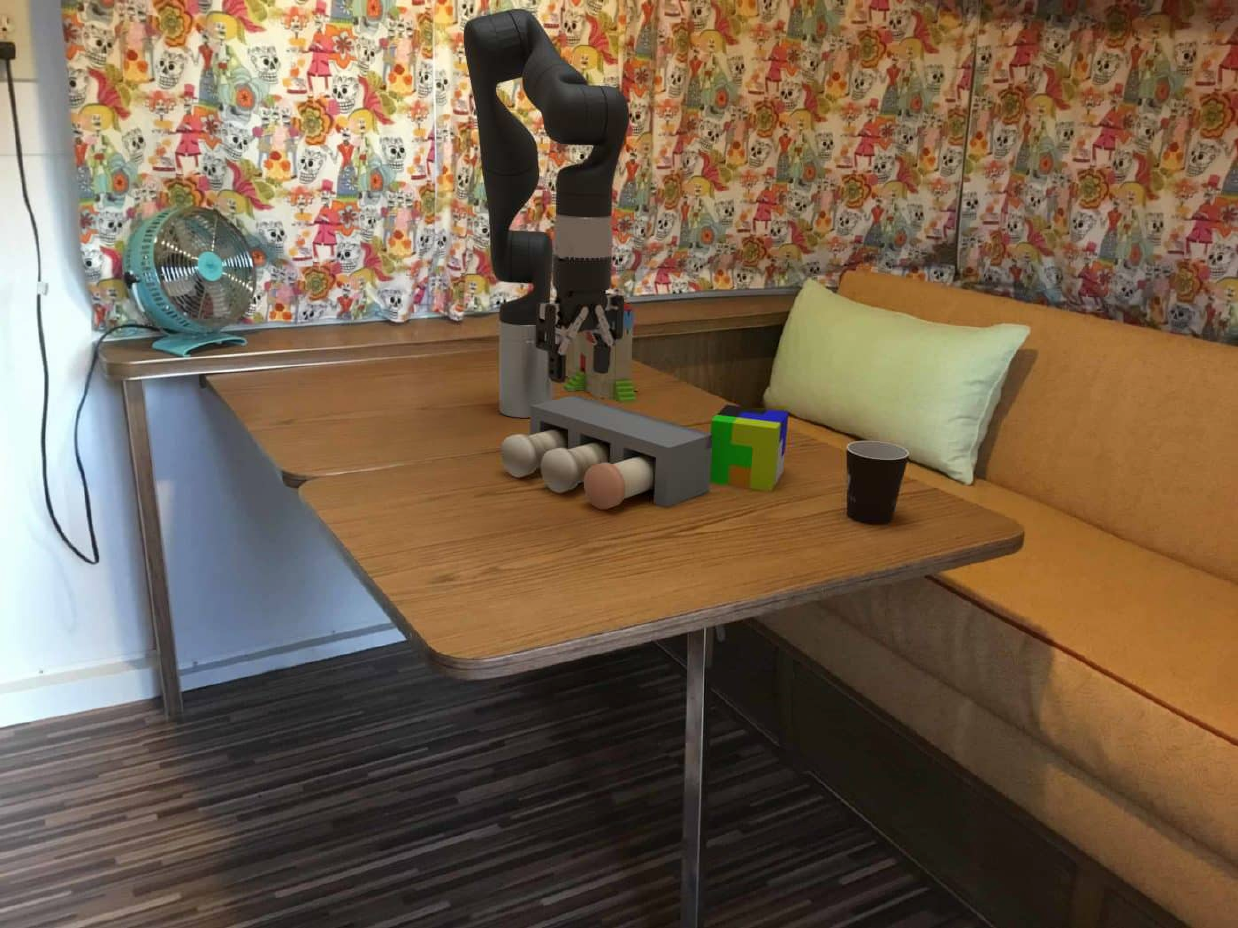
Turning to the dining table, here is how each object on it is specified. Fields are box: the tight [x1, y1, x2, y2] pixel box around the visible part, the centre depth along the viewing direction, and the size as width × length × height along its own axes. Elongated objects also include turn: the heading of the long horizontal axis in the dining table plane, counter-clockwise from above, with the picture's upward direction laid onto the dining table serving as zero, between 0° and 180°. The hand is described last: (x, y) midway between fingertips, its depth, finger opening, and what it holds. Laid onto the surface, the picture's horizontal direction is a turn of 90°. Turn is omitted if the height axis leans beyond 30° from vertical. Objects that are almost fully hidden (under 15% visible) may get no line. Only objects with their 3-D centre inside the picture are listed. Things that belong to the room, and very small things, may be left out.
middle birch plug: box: [540, 441, 610, 494], centre depth 153 cm, size 10×6×6 cm, turn 137°
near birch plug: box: [500, 428, 568, 478], centre depth 159 cm, size 10×6×6 cm, turn 137°
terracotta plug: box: [583, 455, 656, 510], centre depth 147 cm, size 10×6×6 cm, turn 137°
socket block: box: [529, 395, 713, 508], centre depth 158 cm, size 10×29×9 cm, turn 47°
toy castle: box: [563, 301, 639, 404], centre depth 210 cm, size 28×14×19 cm, turn 22°
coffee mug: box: [845, 440, 910, 526], centre depth 146 cm, size 12×9×10 cm
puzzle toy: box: [710, 404, 789, 492], centre depth 160 cm, size 10×10×10 cm
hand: (579, 377), depth 135 cm, fingers open, 7 cm apart
